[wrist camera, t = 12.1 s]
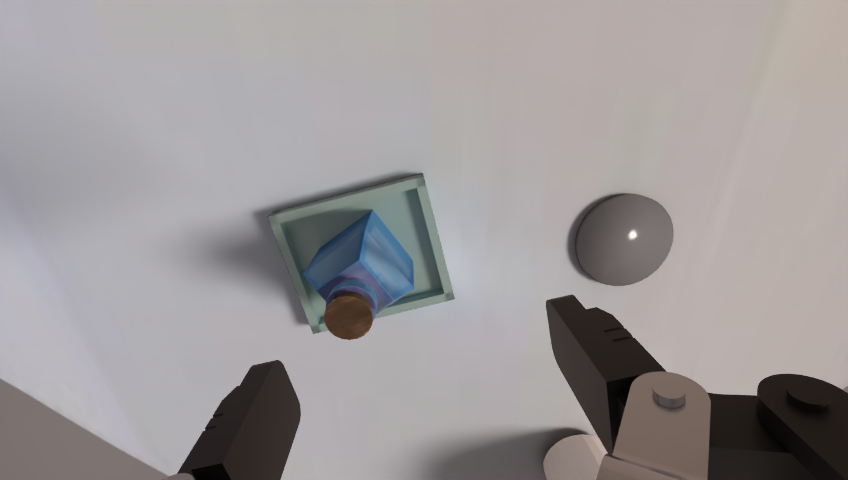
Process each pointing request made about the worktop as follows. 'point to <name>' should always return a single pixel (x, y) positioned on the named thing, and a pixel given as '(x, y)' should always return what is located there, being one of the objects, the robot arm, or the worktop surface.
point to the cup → (574, 458)
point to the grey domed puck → (624, 239)
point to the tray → (324, 219)
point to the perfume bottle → (360, 275)
